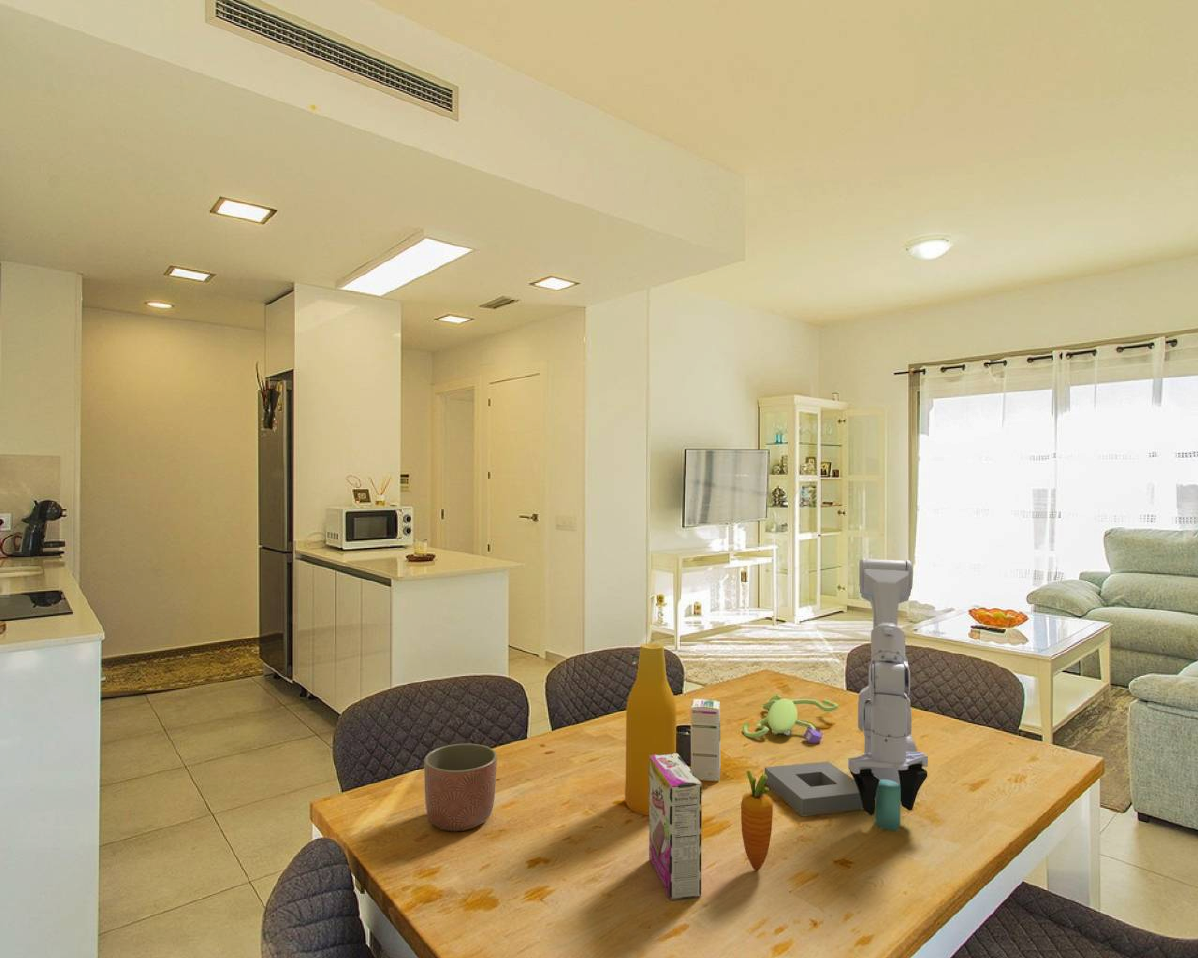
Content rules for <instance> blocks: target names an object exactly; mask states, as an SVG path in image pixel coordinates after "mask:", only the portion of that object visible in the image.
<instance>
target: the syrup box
mask: <svg viewBox="0 0 1198 958" xmlns="http://www.w3.org/2000/svg"><path fill="white" fill-rule="evenodd" d="M690 770H691V771H692V772H693V774H694V775H695V776H696V777H697V779H698V780H699V781H707V782H709V781H710V782H720V778H721V702H720V700H717V699H710V698H693V699H692V702H691V705H690Z"/></svg>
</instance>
